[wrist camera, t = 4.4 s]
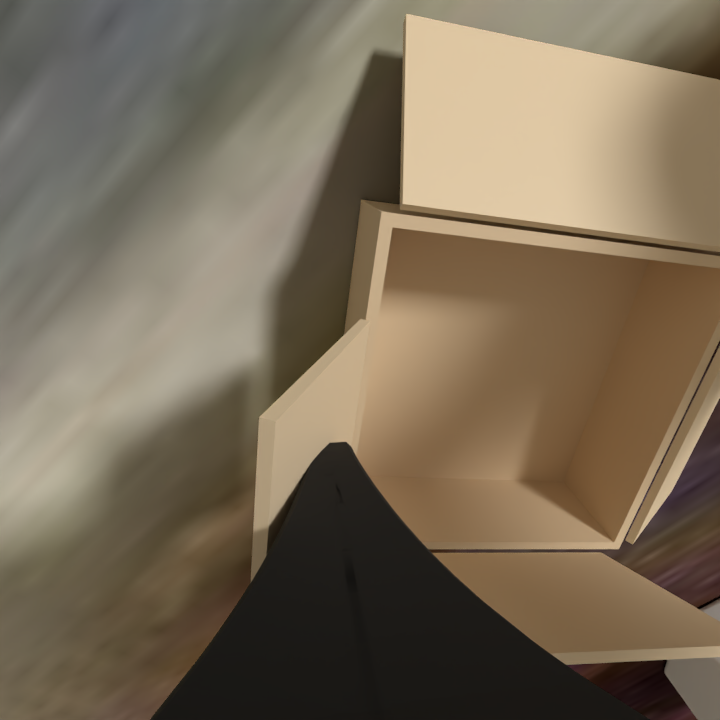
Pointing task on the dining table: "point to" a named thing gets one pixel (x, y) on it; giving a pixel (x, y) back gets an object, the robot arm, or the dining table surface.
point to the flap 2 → (557, 138)
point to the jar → (698, 678)
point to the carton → (522, 374)
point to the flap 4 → (680, 447)
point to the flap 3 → (587, 607)
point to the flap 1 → (304, 432)
